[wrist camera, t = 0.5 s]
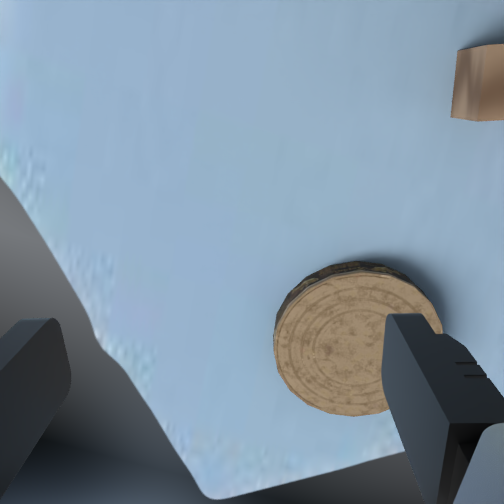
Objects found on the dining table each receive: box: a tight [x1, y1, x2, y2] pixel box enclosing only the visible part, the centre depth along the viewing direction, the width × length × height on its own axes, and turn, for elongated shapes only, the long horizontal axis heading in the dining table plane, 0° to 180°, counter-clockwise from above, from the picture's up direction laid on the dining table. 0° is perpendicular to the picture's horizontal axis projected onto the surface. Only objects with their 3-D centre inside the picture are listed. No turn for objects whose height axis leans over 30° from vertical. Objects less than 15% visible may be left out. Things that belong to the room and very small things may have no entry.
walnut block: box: [451, 44, 504, 121], centre depth 32 cm, size 5×5×5 cm
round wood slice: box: [273, 261, 443, 417], centre depth 42 cm, size 16×16×3 cm
